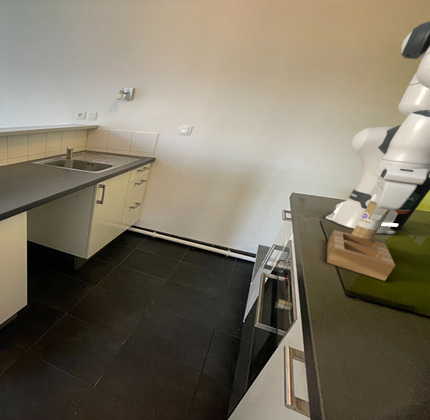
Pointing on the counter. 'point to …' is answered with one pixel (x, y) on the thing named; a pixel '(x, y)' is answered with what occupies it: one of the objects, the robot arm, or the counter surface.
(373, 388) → the counter surface
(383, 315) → the counter surface
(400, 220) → the wine bottle
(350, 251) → the hole block
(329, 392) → the counter surface
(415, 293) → the counter surface
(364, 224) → the sprinkles bottle
